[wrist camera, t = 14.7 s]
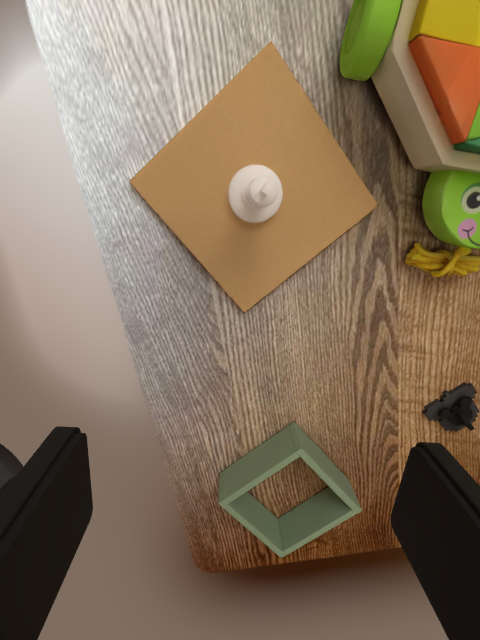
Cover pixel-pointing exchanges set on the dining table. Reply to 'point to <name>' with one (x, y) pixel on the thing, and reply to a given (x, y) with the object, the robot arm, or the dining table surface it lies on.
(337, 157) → the plate
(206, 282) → the dining table surface
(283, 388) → the dining table surface
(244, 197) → the chess piece
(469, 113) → the toy wagon
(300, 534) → the square frame
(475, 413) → the block figure
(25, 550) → the robot arm
